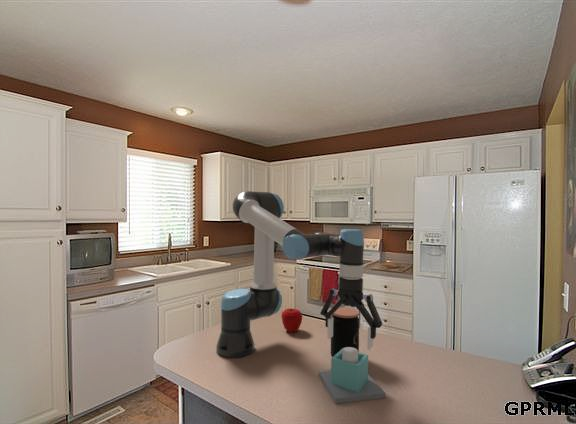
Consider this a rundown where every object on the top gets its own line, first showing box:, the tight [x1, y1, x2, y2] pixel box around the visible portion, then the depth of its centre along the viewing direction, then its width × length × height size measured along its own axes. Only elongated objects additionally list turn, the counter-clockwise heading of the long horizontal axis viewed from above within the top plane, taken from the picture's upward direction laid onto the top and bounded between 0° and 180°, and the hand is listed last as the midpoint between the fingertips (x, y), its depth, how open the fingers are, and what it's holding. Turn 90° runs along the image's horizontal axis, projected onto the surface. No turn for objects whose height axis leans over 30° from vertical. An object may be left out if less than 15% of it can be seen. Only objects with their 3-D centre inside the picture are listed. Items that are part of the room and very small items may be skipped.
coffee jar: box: [330, 306, 360, 358], centre depth 120 cm, size 11×11×18 cm
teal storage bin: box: [330, 348, 369, 392], centre depth 100 cm, size 9×9×8 cm
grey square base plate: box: [318, 347, 386, 404], centre depth 100 cm, size 16×16×12 cm
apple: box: [281, 308, 303, 333], centre depth 147 cm, size 10×10×11 cm
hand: (349, 342), depth 100 cm, fingers open, 13 cm apart
